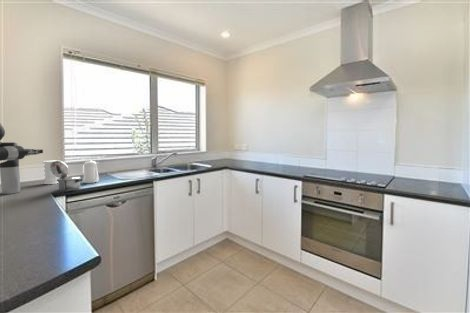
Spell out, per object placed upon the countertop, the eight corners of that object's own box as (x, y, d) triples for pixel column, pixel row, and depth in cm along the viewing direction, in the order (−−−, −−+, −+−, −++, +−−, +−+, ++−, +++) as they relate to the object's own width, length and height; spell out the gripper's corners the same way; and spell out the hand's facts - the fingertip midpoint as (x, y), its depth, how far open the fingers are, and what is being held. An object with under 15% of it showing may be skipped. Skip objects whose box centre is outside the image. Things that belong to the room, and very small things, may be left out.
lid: (71, 178, 162) (69, 179, 160) (54, 178, 163) (52, 179, 161) (66, 160, 158) (64, 161, 156) (49, 160, 159) (46, 161, 157)
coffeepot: (92, 184, 184) (91, 160, 182) (76, 181, 197) (75, 159, 195) (106, 182, 193) (105, 159, 191) (90, 179, 206) (89, 158, 205)
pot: (72, 191, 161) (71, 179, 160) (50, 191, 162) (50, 179, 161) (87, 187, 174) (86, 176, 174) (67, 187, 176) (66, 176, 175)
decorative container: (61, 183, 189) (60, 161, 188) (42, 185, 183) (41, 162, 181) (62, 181, 199) (61, 160, 197) (45, 182, 193) (43, 160, 191)
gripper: (22, 146, 127) (50, 145, 145) (-1, 146, 129) (29, 145, 146) (23, 160, 128) (51, 157, 145) (0, 160, 129) (30, 157, 147)
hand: (40, 151), depth 146 cm, fingers closed
